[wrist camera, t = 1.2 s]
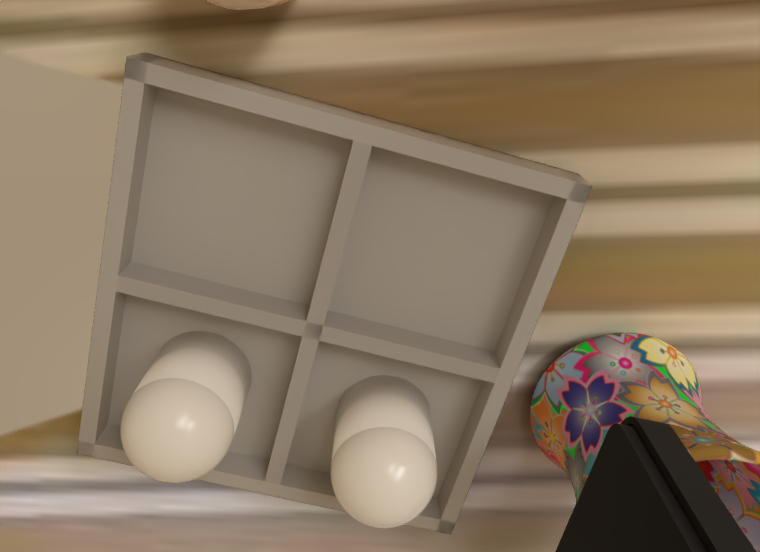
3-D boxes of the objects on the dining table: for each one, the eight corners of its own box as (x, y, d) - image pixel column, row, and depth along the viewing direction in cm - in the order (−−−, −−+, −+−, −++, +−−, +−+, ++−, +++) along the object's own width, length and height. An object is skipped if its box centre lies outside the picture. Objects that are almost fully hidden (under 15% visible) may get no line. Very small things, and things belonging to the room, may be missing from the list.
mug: (489, 442, 36) (531, 611, 26) (566, 292, 32) (648, 420, 23) (688, 504, 37) (799, 685, 27) (781, 366, 34) (945, 516, 24)
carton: (144, 52, 28) (126, 56, 26) (577, 173, 30) (592, 186, 28) (94, 427, 35) (76, 453, 33) (446, 505, 37) (450, 534, 35)
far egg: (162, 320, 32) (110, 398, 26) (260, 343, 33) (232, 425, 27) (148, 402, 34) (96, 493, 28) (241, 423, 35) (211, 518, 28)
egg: (349, 365, 33) (342, 450, 27) (442, 387, 34) (456, 476, 27) (326, 442, 35) (315, 539, 29) (414, 462, 36) (422, 562, 29)
